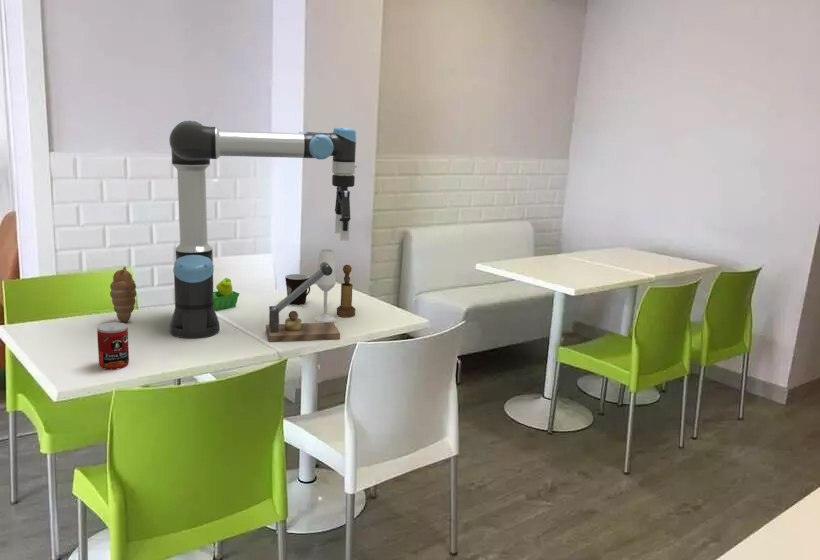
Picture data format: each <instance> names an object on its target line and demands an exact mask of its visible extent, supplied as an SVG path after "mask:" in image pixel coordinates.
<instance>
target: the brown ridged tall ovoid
mask: <svg viewBox="0 0 820 560" xmlns="http://www.w3.org/2000/svg"><path fill="white" fill-rule="evenodd" d="M109 287H110V292H109V294H110V295H109V297H110V298H111V303H112V305H113V310H114V312H115V313H116V317H117V319H118V321H120V323H127V322H128V321H130V319H131V317H132V313H133V312H134V309H135V304H136V296H137V290H136V288H137V284H136V282H135V280H134V278H133V275H132V274H131V272H129V270H127V267H126V266H124V267H123V268H122V269H119V270H116V271H115V272H114V273H113V275H112V282H111V283H110V285H109Z"/></svg>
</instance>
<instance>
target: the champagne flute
mask: <svg viewBox="0 0 820 560" xmlns="http://www.w3.org/2000/svg"><path fill="white" fill-rule="evenodd" d="M318 251H319V253H318V262H317V271H318V270H320V265H321V263H323V262H326V263H328V264H329V266H330V267H331V268H332V273H331V275H329V276H326V275H324V276H322V277H321V278H320V279H319V280H318V281H316V282H315V283H316V285H317V287H318V288H319V289H320V290H321V291H322V292H323V313H322V314H320V315H318V316H317V317H315V320H316V321H318V322H322V323H328V322H334V321H335V320H336V318H335V317H333V316H332V315H330V314H329V313H328V292H329V291H331V290H332V289H333V288H334V286H335V285H336V284H337V282H336V281H337V280H336V267H335V254H334V253H335V252H334V251H335V250H333V249H330V248H322V249H321V248H320V249H319V250H318ZM317 271H316V272H317Z"/></svg>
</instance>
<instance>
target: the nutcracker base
mask: <svg viewBox="0 0 820 560" xmlns="http://www.w3.org/2000/svg"><path fill="white" fill-rule="evenodd" d="M275 306H276V305H270V306H269V307H268V308H269V309H268V310H269V317H268V318H269V322H268V324H266V325H265V332H266V335H267V338H268V342H269V343H281V342H283V343H286V342H302V341H303V342H306V341H307V342H308V341H329V340H330V341H331V340H332V341H333V340H334V341H335V340H336V341H337V340H341V332H340V331H339V329H338V327H337V325H336V324H335V322H334V321H328V322H304V323H303V322H302V319H301V318H299V314H298V312H297V311H295V310H291V311H290V312H289V313H288V318H286V319H285V321H284V322H285V323H280V312H279V310H271V313H270V308H271V307H275Z"/></svg>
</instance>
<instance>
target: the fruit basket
mask: <svg viewBox="0 0 820 560" xmlns="http://www.w3.org/2000/svg"><path fill="white" fill-rule="evenodd" d="M216 289H217V290H216V291H213V305H214V310H216V311H219V310H225V309H231V308H235V307H236V305H237V302H238V299H239V297H240V296H239V295H240V292H237V291H235V290H233V285H232V280H231V279H230V278H229V277H225V278H223V279H222V280H221V281H219V282H218V283H217V284H216Z"/></svg>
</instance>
